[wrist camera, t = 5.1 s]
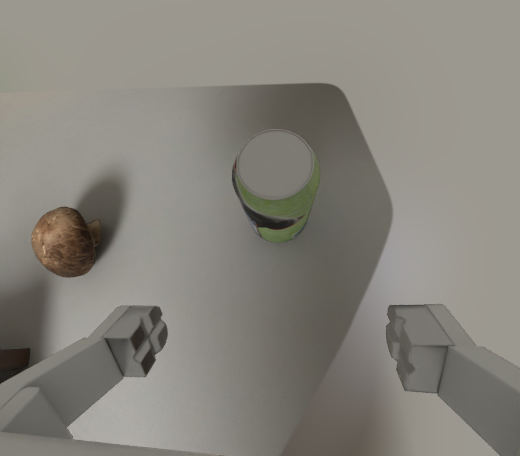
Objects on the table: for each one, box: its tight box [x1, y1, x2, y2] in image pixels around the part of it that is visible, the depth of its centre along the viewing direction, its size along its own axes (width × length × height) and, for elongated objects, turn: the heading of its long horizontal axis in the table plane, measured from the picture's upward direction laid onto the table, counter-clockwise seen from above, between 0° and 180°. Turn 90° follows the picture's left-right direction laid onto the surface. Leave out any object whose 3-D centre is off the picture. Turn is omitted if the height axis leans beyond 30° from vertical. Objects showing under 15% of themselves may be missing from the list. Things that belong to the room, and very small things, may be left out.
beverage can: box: [232, 129, 320, 242], centre depth 21 cm, size 6×7×12 cm
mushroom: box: [31, 207, 101, 277], centre depth 28 cm, size 8×8×6 cm
